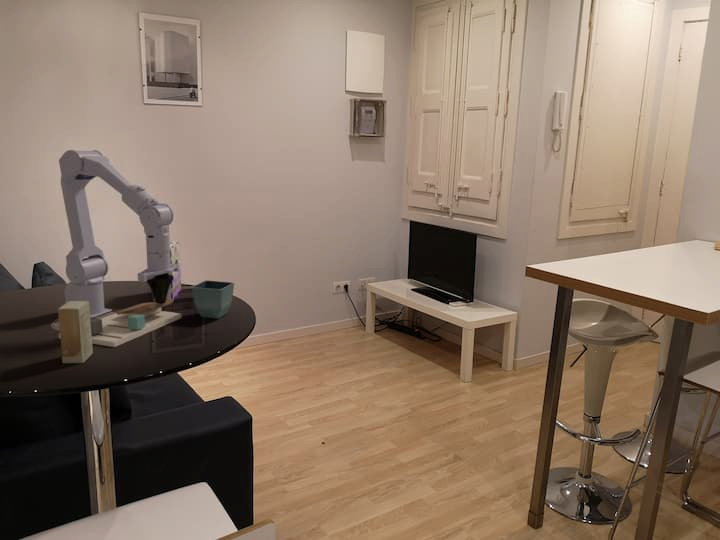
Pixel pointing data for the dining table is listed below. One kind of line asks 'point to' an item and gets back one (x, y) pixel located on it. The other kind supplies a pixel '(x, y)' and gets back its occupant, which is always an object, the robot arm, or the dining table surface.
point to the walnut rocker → (144, 307)
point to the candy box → (176, 282)
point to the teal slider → (136, 321)
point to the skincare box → (75, 331)
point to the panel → (119, 332)
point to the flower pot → (213, 298)
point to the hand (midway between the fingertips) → (160, 302)
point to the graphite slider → (96, 326)
